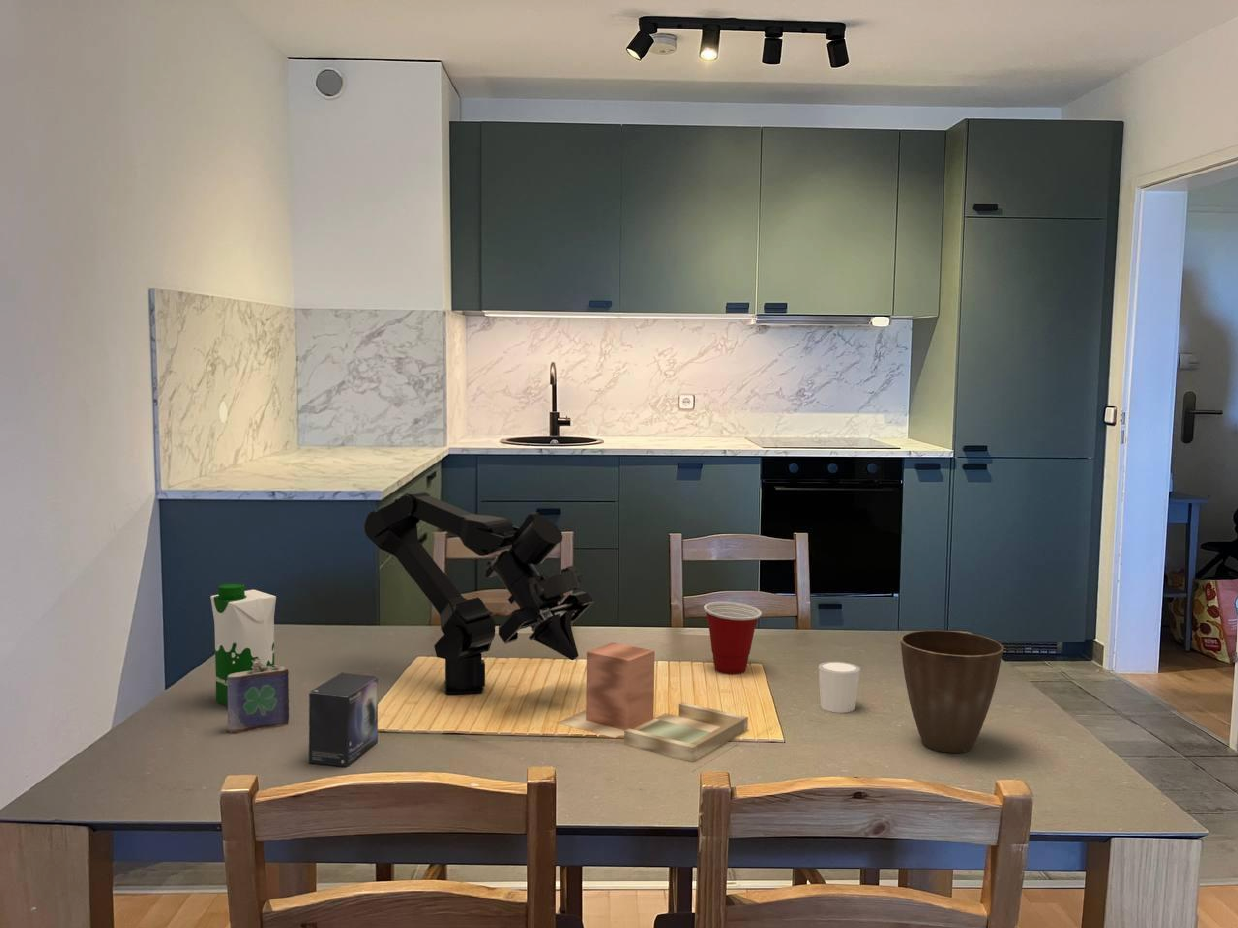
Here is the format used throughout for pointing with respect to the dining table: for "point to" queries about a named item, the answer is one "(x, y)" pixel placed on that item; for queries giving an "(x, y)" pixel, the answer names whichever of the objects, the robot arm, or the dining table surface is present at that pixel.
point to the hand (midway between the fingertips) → (575, 658)
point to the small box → (343, 719)
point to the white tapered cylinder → (838, 686)
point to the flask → (258, 698)
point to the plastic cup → (731, 634)
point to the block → (620, 686)
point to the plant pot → (950, 685)
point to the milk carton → (241, 632)
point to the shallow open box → (674, 731)
